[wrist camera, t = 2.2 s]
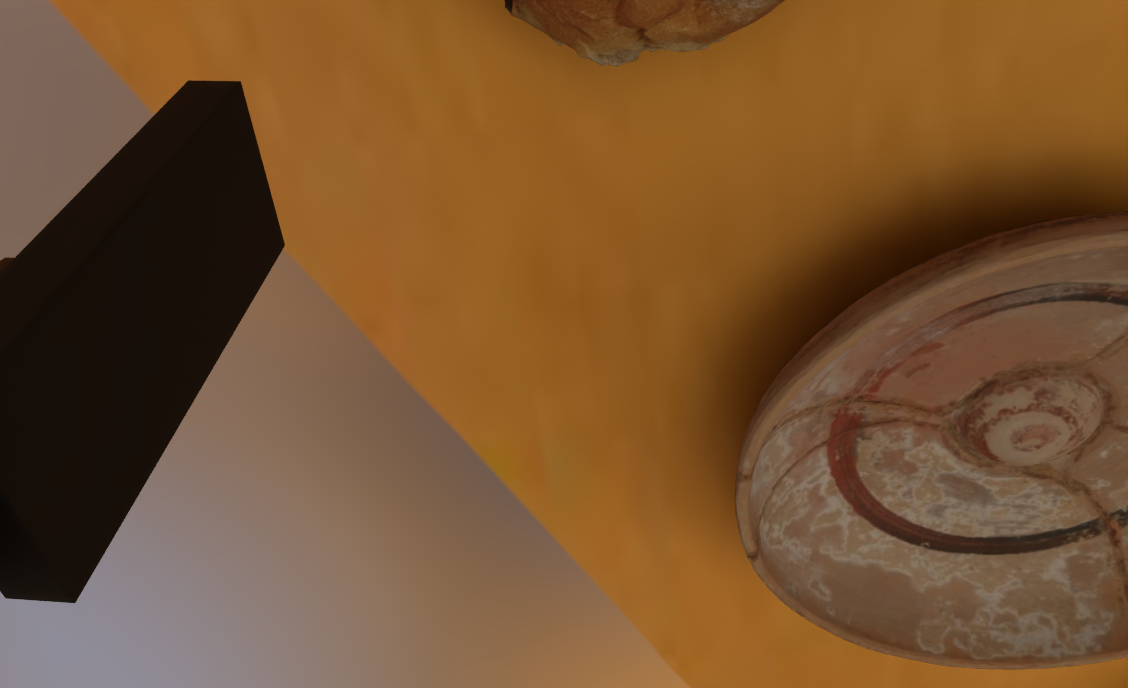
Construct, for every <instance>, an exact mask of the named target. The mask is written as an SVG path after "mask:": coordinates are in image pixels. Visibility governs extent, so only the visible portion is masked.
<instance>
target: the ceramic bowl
mask: <svg viewBox="0 0 1128 688" xmlns="http://www.w3.org/2000/svg"><path fill="white" fill-rule="evenodd" d="M735 509H736V517H737V522H738V527H739V532H740V536H741V540H742V543H743V546H744V549H745V551H746V554H747V557H748V560H749V561H750V562H751V563H752V566H753V568H754V570H755V571H756V573H757V574H758V575H759V577H760V578H761V579H762V581H763V582H764V583H765V584H766V585H767V587H768V588H769V589H770V590H771V591H772V592H773V593H774V594H775V595H776V596H777V597H778V598H779V599H780V600H781V601H782V602H784V603H785V604H786V605H787V606H789V607H790V608H791V609H792V610H794V611H795V612H796V613H798V614H799V615H801V616H802V617H804V618H806V619H807V620H808V621H810V622H812V623H814V624H815V625H817V626H819V627H820V628H822V629H824V630H826V631H828V632H830V633H832V634H834V635H835V636H838V637H841V638H842V639H844V640H847V641H849V642H852V643H854V644H856V645H859V646H861V647H864V648H867V649H870V650H874V651H877V652H881V653H884V654H888V655H892V656H897V657H901V658H905V659H911V660H916V661H921V662H926V663H930V664H935V665H942V666H950V667H962V668H977V669H1007V670H1009V669H1044V668H1056V667H1068V666H1077V665H1084V664H1091V663H1099V662H1104V661H1109V660H1115V659H1121V658H1127V657H1128V211H1119V212H1108V213H1097V214H1089V215H1080V216H1074V217H1067V218H1061V219H1055V220H1049V221H1043V222H1039V223H1035V224H1031V225H1027V226H1023V227H1019V228H1015V229H1010V230H1006V231H1002V232H998V233H995V234H992V235H989V236H987V237H984V238H981V239H978V240H975V241H972V242H970V243H967V244H964V245H961V246H958V247H955V248H953V249H950V250H948V251H946V252H944V253H941V254H939V255H937V256H934V257H932V258H930V259H928V260H925V261H923V262H921V263H919V264H916V265H914V266H912V267H911V268H909V269H907V270H905V271H903V272H902V273H900V274H898V275H896V276H894V277H892V278H891V279H889V280H888V281H886V282H884V283H883V284H881V285H879V286H878V287H876V288H875V289H873V290H871V291H870V292H869V293H867V294H866V295H864V296H863V297H861V298H860V299H859V300H857V301H856V302H854V303H853V304H852V305H850V306H849V307H847V308H846V309H845V310H843V311H842V312H841V313H840V314H839V315H837V316H836V317H835V318H834V319H833V320H831V321H830V322H829V323H828V324H826V325H825V326H824V327H823V328H822V329H821V330H820V331H819V332H818V333H817V334H816V335H814V336H813V337H812V338H811V339H810V340H809V341H808V342H807V343H806V344H805V345H804V346H803V347H802V348H801V349H800V350H799V351H798V352H797V353H796V355H795V356H794V357H793V358H792V359H791V360H790V361H789V362H788V363H787V364H786V366H785V367H784V368H783V369H782V370H781V372H780V373H779V374H778V376H777V377H776V378H775V380H774V381H773V383H772V384H771V385H770V387H769V388H768V390H767V391H766V393H765V394H764V396H763V397H762V398H761V400H760V402H759V404H758V406H757V409H756V411H755V413H754V415H753V417H752V420H751V422H750V424H749V426H748V429H747V431H746V434H745V436H744V439H743V442H742V445H741V447H740V453H739V459H738V466H737V473H736V484H735Z"/></svg>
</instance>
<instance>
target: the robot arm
mask: <svg viewBox="0 0 1128 688" xmlns="http://www.w3.org/2000/svg"><path fill="white" fill-rule="evenodd" d="M284 246H285V244H284V240H283V236H282V233H281V229H280V225H279V222H278V218H277V214H276V210H275V207H274V203H273V199H272V196H271V192H270V188H269V185H268V181H267V177H266V173H265V170H264V166H263V162H262V159H261V155H260V151H259V148H258V144H257V140H256V136H255V133H254V129H253V125H252V122H251V118H250V114H249V111H248V107H247V103H246V99H245V96H244V92H243V88H242V85H241V81H187V82H186V84H185V85H184V86H183V87H182V88H181V89H180V90H179V91H178V92H177V93H176V94H175V95H174V96H173V97H172V98H171V99H170V100H169V101H168V102H167V103H166V104H165V105H164V106H163V107H162V108H161V109H160V110H159V111H158V112H157V113H156V114H155V115H154V116H153V117H152V118H151V119H150V120H149V121H148V122H147V123H146V124H145V125H144V126H143V128H142V129H141V130H140V131H139V132H138V133H137V134H136V135H135V136H134V137H133V138H132V139H131V140H130V141H129V142H128V143H127V144H126V145H125V146H124V147H123V148H122V149H121V150H120V151H119V152H118V153H117V154H116V155H115V156H114V157H113V158H112V159H111V160H110V161H109V162H108V163H107V164H106V165H105V166H104V167H103V168H102V169H101V170H100V172H99V173H97V174H96V176H95V177H94V178H93V179H92V180H91V181H90V182H89V183H88V184H87V185H86V186H85V187H84V188H83V189H82V190H81V191H80V192H79V193H78V194H77V195H76V196H75V197H74V198H73V199H72V200H71V201H70V202H69V203H68V204H67V205H66V206H65V207H64V208H63V209H62V210H61V211H60V212H59V213H58V214H57V215H56V216H55V217H54V218H53V220H51V221H50V223H49V224H48V225H47V226H46V227H45V228H44V229H43V230H42V231H41V232H40V233H39V234H38V235H37V236H36V237H35V238H34V239H33V240H32V241H31V242H30V243H29V244H28V245H27V246H26V247H25V248H24V249H23V250H22V251H21V252H20V253H19V254H18V255H17V256H16V257H15V258H4V259H3V260H1V261H0V591H1V593H2V594H3V595H4V597H5V598H9V599H10V598H11V599H24V600H25V599H26V600H38V601H53V602H68V603H75V602H76V601H77V599H78V597H79V596H80V594H81V592H82V590H83V588H84V587H85V585H86V583H87V582H88V580H89V578H90V577H91V575H92V573H93V572H94V570H95V568H96V566H97V565H98V563H99V561H100V560H101V558H102V556H103V555H104V553H105V551H106V549H107V548H108V546H109V544H110V543H111V541H112V539H113V538H114V536H115V534H116V532H117V531H118V529H119V527H120V526H121V524H122V522H123V520H124V519H125V517H126V515H127V514H128V512H129V510H130V509H131V507H132V505H133V503H134V502H135V500H136V498H137V497H138V495H139V493H140V491H141V490H142V488H143V486H144V485H145V483H146V481H147V479H148V478H149V476H150V474H151V473H152V471H153V469H154V468H155V466H156V464H157V462H158V461H159V459H160V457H161V456H162V454H163V452H164V451H165V449H166V447H167V445H168V444H169V442H170V440H171V439H172V437H173V435H174V434H175V432H176V430H177V428H178V427H179V425H180V423H181V422H182V420H183V418H184V416H185V415H186V413H187V411H188V410H189V408H190V406H191V404H192V403H193V401H194V399H195V398H196V396H197V394H198V392H199V391H200V389H201V388H202V386H203V384H204V382H205V381H206V379H207V377H208V375H209V374H210V372H211V370H212V369H213V367H214V365H215V364H216V362H217V360H218V359H219V357H220V355H221V353H222V351H223V350H224V348H225V347H226V345H227V343H228V341H229V340H230V338H231V336H232V335H233V333H234V331H235V330H236V328H237V326H238V324H239V323H240V321H241V319H242V318H243V316H244V314H245V313H246V311H247V309H248V307H249V306H250V304H251V302H252V301H253V299H254V297H255V295H256V294H257V292H258V290H259V289H260V287H261V285H262V284H263V282H264V280H265V278H266V277H267V275H268V273H269V271H270V270H271V268H272V266H273V265H274V263H275V261H276V260H277V258H278V256H279V255H280V253H281V251H282V249H283V248H284Z"/></svg>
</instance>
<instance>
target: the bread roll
mask: <svg viewBox="0 0 1128 688" xmlns="http://www.w3.org/2000/svg"><path fill="white" fill-rule="evenodd" d="M783 1H784V0H505V8H506V9H507V10H508V11H509V12H510V14H511V15H513V16H515V17H517V18H520V19H522V20H524V21H526V22H527V23H529V24H530V25H532V26H533V27H535V28H537V29H539V30H540V31H542V32H544V33H545V34H547V35H548V36H549V37H550V38H552V39H553V40H554V41H555V42H556V43H557V44H558V45H559V46H561V45H562V44H566V45H567V46H569V47H571V48H573V49H574V50H575V51H576V52H577V53H578V55H579V56H580V57H584V58H588V59H590V60H592V61H594V62H596V63H598V64H600V65H606V64H607V65H614V66H619V65H622V64H624V63H627V62H633V61H636V60H637V58H638V55H639V53H640V52H641V51H644V50H649V51H650V52H653V51H657V50H659V49H664V50H667V51H677V52H684V51H694V50H700V49H707V48H708V47H709V45H710V44H712V43H714V42H719V41H722V40H724V39H725V37H726V36H727V35H728V34H730V33H732V32H735V31H737V30H739V29H741V28H743V27H745V26H747V25H749V24H751V23H753V22H755V21H757V20H758V19H760V18H761V17H763V16H764V15H766V14H767V13H769V12H771V11H772V10H773V9H774V8H775V7H777V6H778V5H779V4H780V3H782V2H783Z"/></svg>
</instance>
